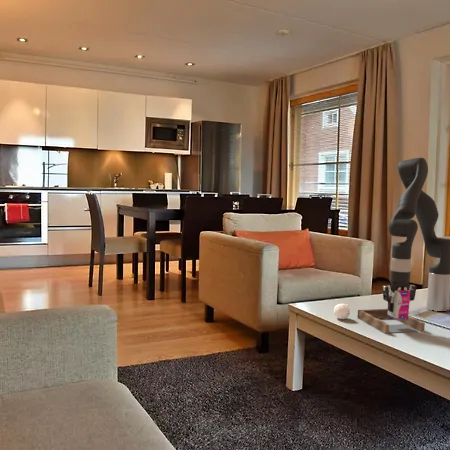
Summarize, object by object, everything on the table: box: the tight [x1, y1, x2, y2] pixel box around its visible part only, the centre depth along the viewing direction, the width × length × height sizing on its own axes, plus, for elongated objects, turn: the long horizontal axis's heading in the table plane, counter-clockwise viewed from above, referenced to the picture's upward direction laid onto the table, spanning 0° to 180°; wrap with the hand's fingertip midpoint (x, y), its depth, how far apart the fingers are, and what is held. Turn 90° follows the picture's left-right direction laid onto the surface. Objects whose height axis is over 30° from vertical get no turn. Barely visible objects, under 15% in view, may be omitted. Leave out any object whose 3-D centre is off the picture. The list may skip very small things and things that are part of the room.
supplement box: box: [387, 289, 411, 321], centre depth 186 cm, size 6×6×12 cm
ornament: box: [333, 303, 351, 320], centre depth 199 cm, size 6×7×7 cm
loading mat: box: [389, 323, 419, 334], centre depth 187 cm, size 9×12×1 cm
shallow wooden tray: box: [357, 308, 426, 335], centre depth 193 cm, size 22×17×4 cm
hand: (398, 311), depth 187 cm, fingers closed on supplement box, 6 cm apart
